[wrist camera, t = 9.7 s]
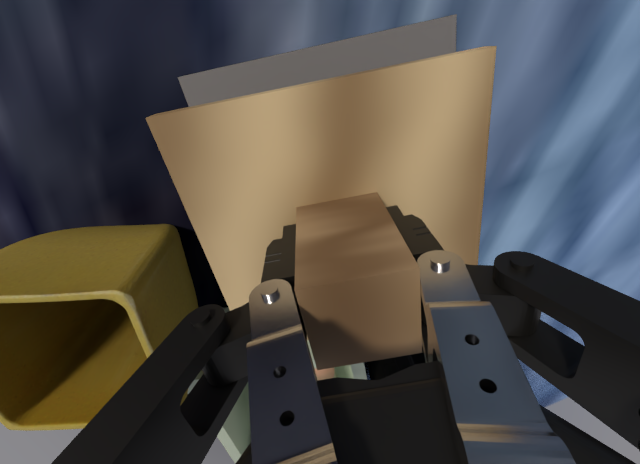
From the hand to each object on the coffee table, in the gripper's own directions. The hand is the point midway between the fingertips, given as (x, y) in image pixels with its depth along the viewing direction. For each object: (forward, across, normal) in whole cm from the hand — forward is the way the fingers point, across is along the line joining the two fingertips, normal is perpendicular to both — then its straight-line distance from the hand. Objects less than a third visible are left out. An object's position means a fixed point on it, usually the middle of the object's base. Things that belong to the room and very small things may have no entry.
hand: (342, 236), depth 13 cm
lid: (+1, 0, 0) cm, 1 cm away
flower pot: (+8, +13, +3) cm, 15 cm away
